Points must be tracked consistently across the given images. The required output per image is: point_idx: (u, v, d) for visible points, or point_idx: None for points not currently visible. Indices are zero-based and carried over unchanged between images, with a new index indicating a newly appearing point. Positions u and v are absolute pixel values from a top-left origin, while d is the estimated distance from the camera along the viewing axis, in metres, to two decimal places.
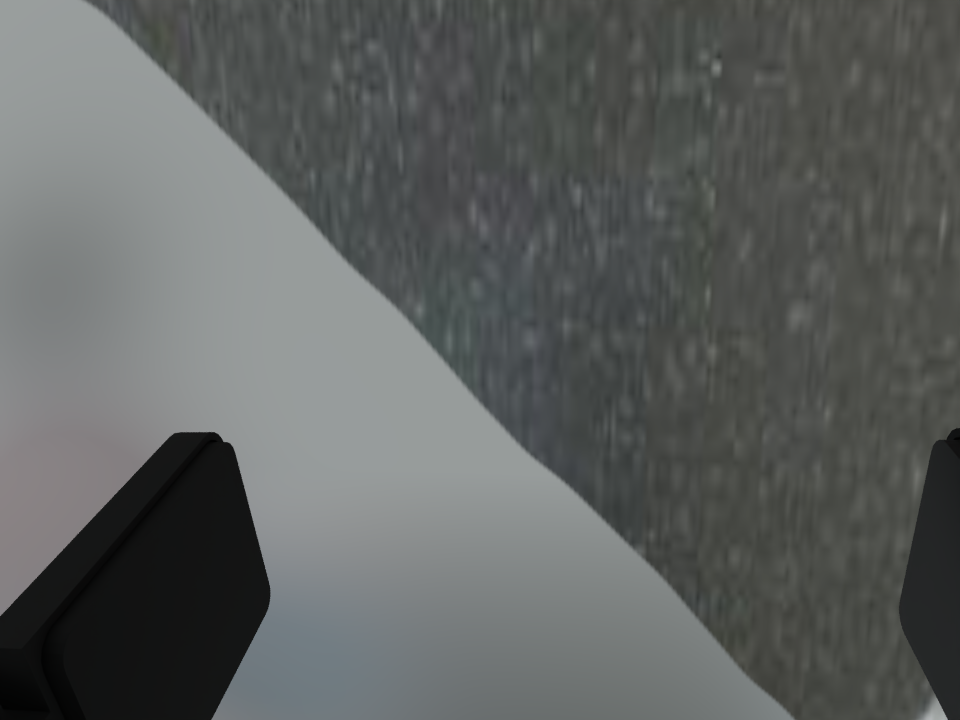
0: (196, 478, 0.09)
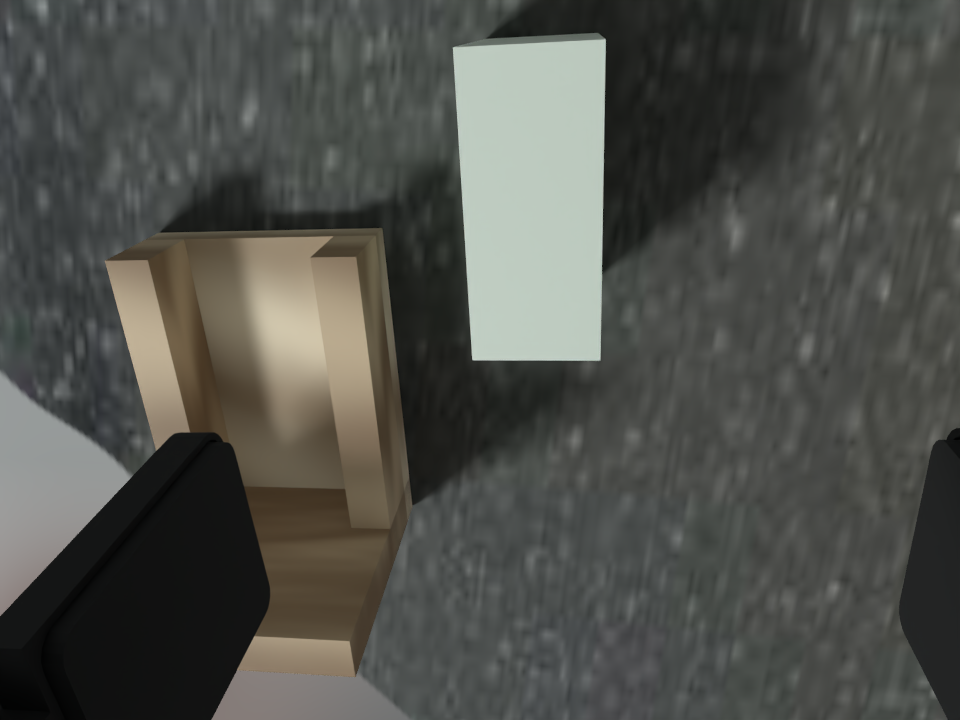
0: (196, 478, 0.09)
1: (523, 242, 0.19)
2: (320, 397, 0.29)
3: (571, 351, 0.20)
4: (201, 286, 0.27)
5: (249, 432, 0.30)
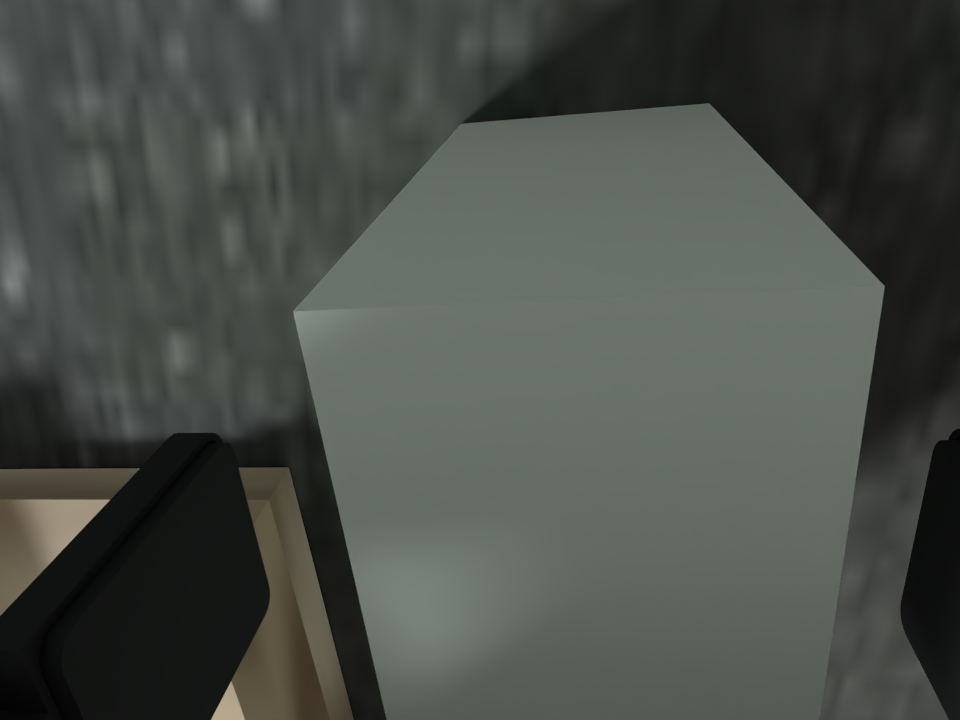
0: (195, 479, 0.09)
1: None
2: None
3: None
4: None
5: None
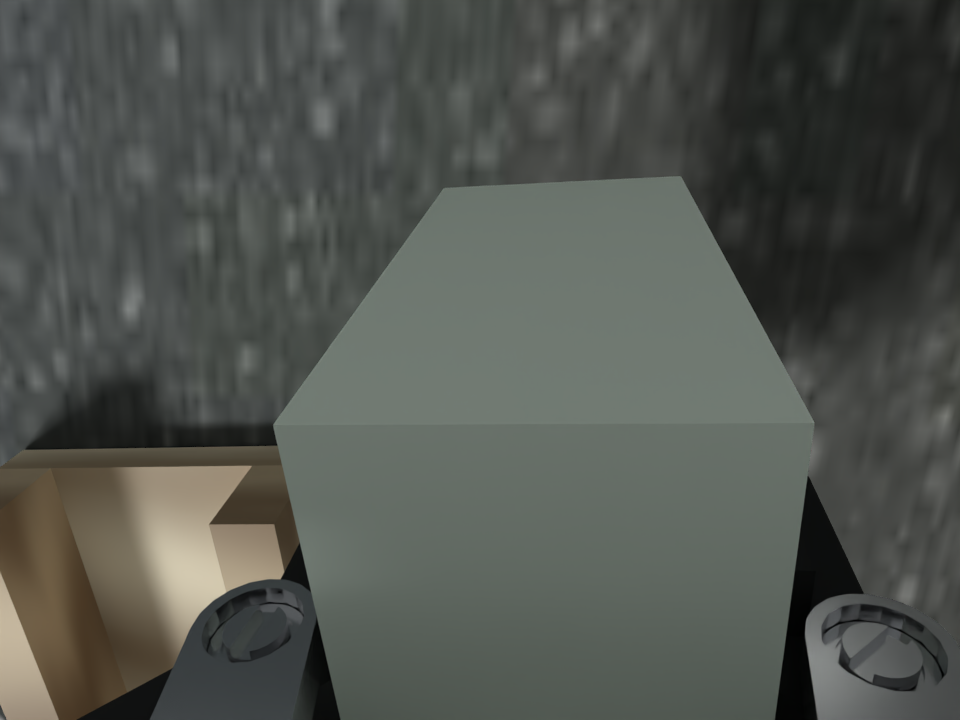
0: None
1: None
2: None
3: None
4: (79, 525, 0.20)
5: None
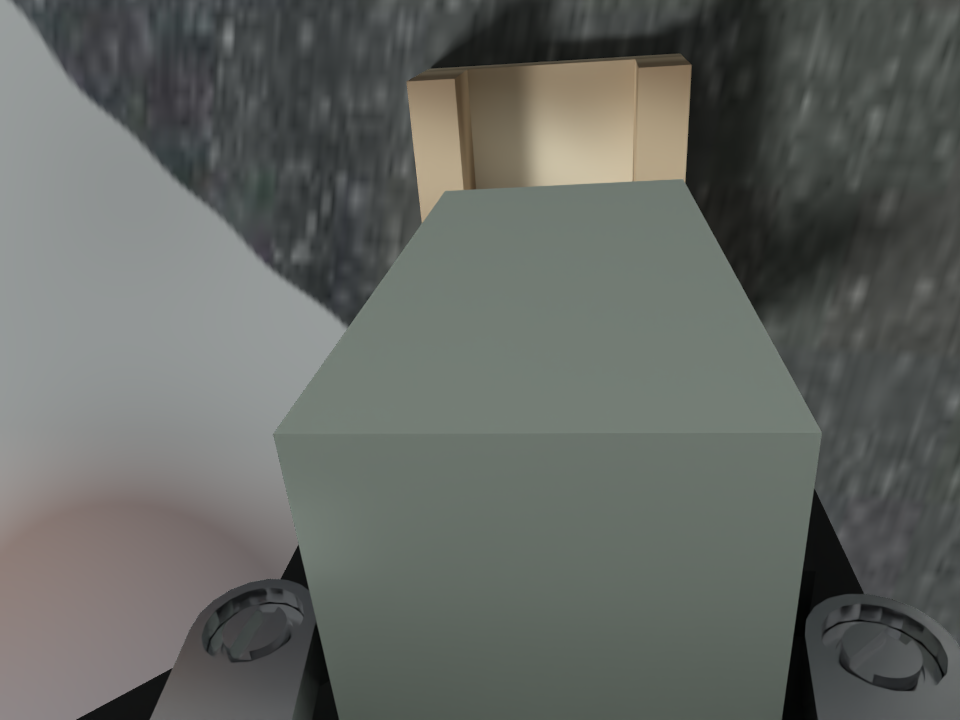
0: None
1: None
2: None
3: None
4: (478, 124, 0.26)
5: None
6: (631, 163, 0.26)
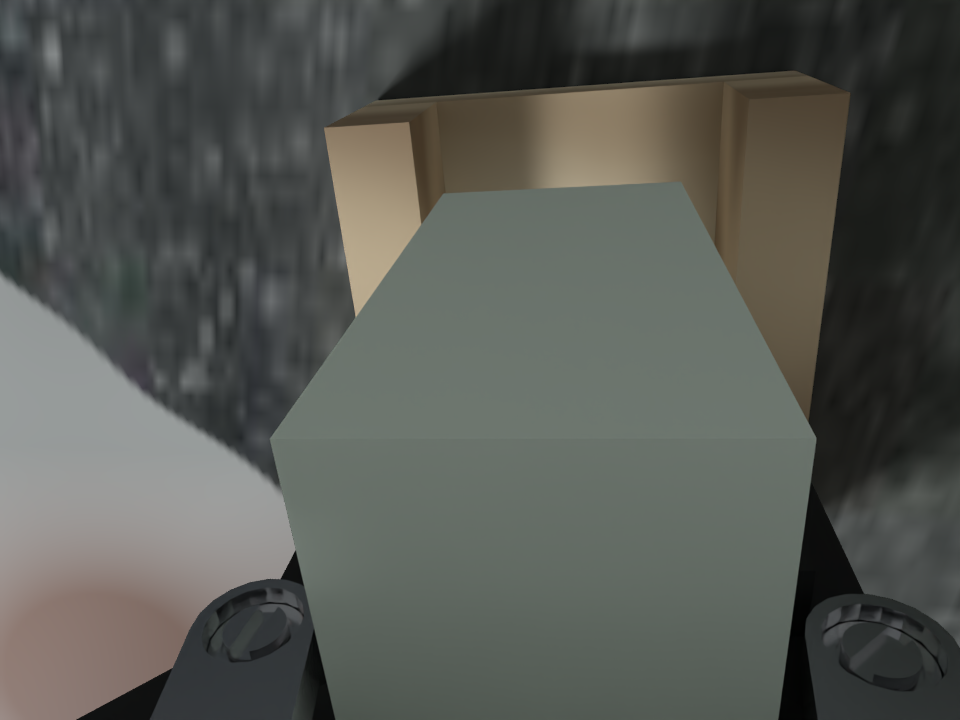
0: None
1: None
2: None
3: None
4: (457, 190, 0.15)
5: None
6: None
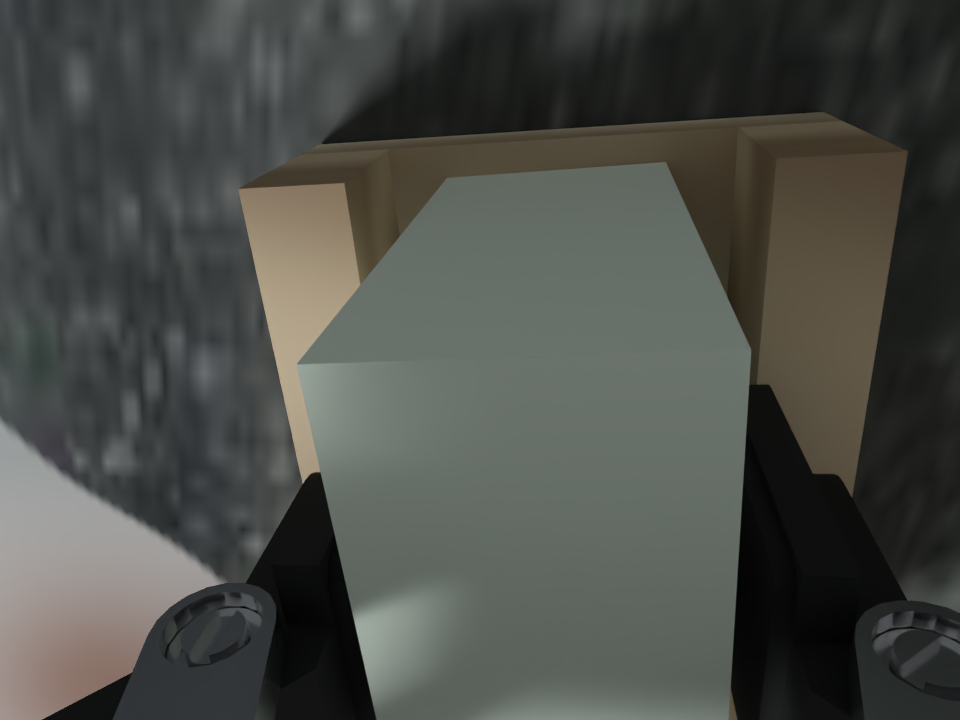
0: None
1: None
2: None
3: None
4: None
5: None
6: None
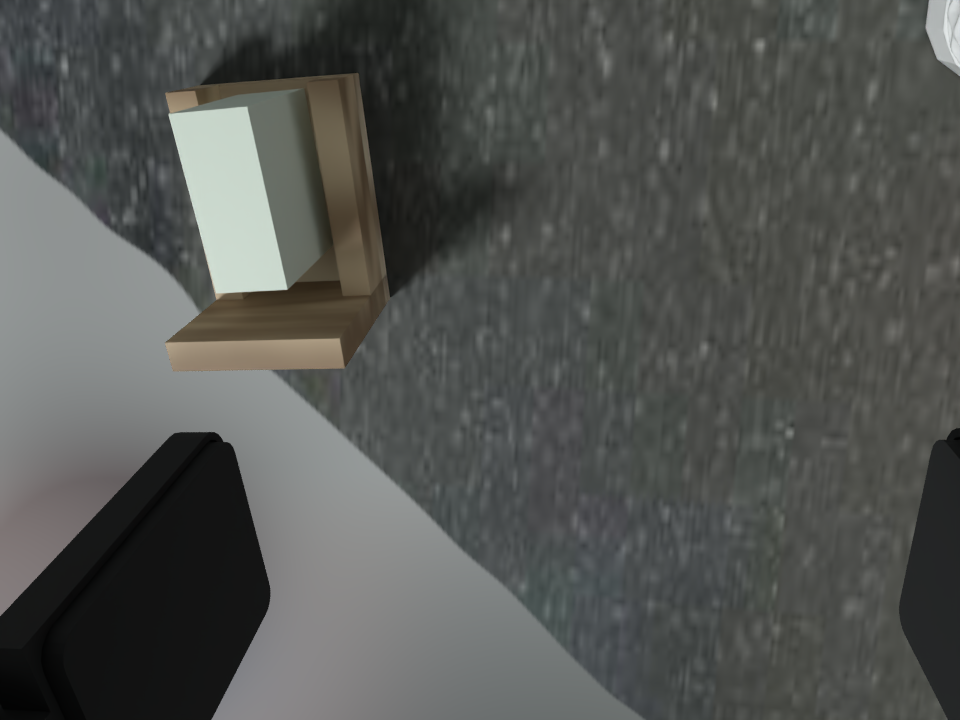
0: (196, 478, 0.09)
1: (229, 221, 0.33)
2: None
3: (270, 285, 0.34)
4: None
5: None
6: None
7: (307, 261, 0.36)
